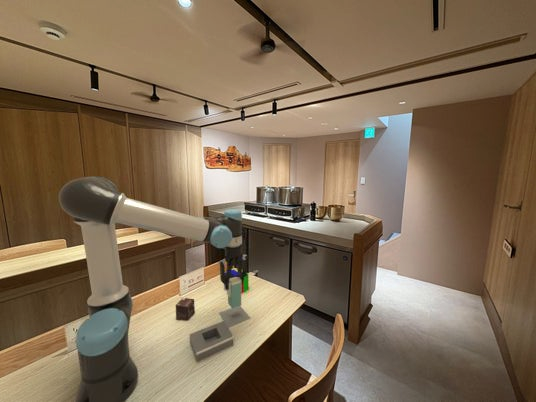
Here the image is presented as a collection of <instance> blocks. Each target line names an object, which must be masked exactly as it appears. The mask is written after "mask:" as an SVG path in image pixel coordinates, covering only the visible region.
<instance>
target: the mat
mask: <svg viewBox="0 0 536 402" xmlns="http://www.w3.org/2000/svg"><path fill="white" fill-rule="evenodd" d="M218 314H219V316H220V317H221V319H222V321H224V322H225V324H226V325H227V327H228V328H230V327H233V326H236V325H238V324H241V323H243V322H245V321H247V320H250V319H251V317H250V315H248V313H247V312H246V311H245V309H244V308H243V307H242V305H241V306H238V307H235V308H233V309H232V308H231V307H230V308H229V309H228V308H227V309H225V310H223V311H220V312H218Z"/></svg>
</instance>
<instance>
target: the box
mask: <svg viewBox="0 0 536 402" xmlns="http://www.w3.org/2000/svg"><path fill="white" fill-rule="evenodd" d="M195 309H196V308H195V298H190V297H189V298H188V297H182V298H181V299H180V300H179V301H177V303H176V304H175V319H176V320H177V321H186V322H187V321H189V320H190V319H191V318H192V317H193V316H194V315H195V313H196V311H195Z"/></svg>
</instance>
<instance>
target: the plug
mask: <svg viewBox="0 0 536 402" xmlns="http://www.w3.org/2000/svg"><path fill="white" fill-rule="evenodd" d="M229 282H230V283H231V297H229V296H228V295H227V304H228V305H229V306H230V309H231V308H232V309H233V308H235V307H238V306H241V307H242V294H241V282H240V280H239V279H238V278H237V277H234V278H230V280H229Z"/></svg>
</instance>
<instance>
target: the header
mask: <svg viewBox="0 0 536 402" xmlns="http://www.w3.org/2000/svg"><path fill="white" fill-rule="evenodd" d="M234 340H235V337H234V335H233V333H232V332H231V330H230V327H227V325H226V324H225V322H224V321H223V320H222V321H219V322H217V323H214V324H212V325H209V326H207V327H204V328H203V329H200V330H197V331H194V332H192V333H190V334H189V344H190V347H191V350H192V352H193V353H192V354H193V355H194V358H195V361H196V362H199V361H202V360H204V359H205V358H209V357H210V356H212V355H214V354H216V353H218V352H219V353H220V352H221V351H223V350H226V349H227V348H230V347H232V346H234Z"/></svg>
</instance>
